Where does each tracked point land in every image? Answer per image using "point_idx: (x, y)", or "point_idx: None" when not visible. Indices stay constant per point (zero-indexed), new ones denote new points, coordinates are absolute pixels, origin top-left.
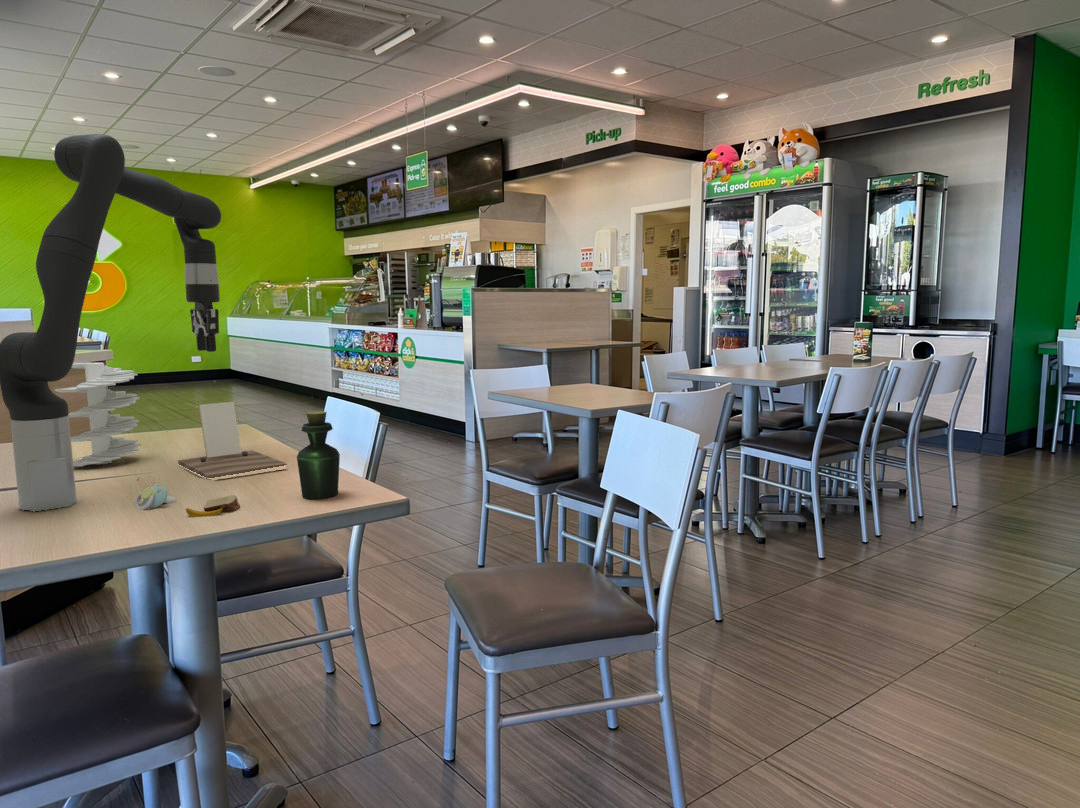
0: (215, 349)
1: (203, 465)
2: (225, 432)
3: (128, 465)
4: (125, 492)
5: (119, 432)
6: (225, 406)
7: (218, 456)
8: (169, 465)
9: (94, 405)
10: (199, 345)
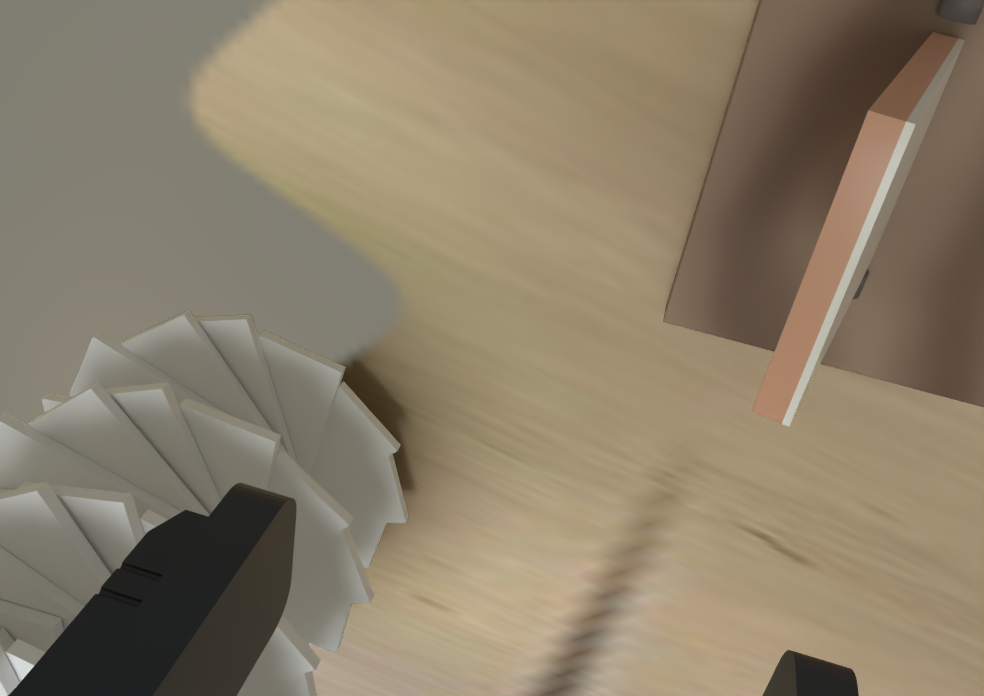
0: (849, 691)
1: (957, 336)
2: (904, 172)
3: (424, 410)
4: (976, 691)
5: (345, 537)
6: (884, 203)
7: (790, 127)
8: (599, 315)
9: None
10: (248, 660)
